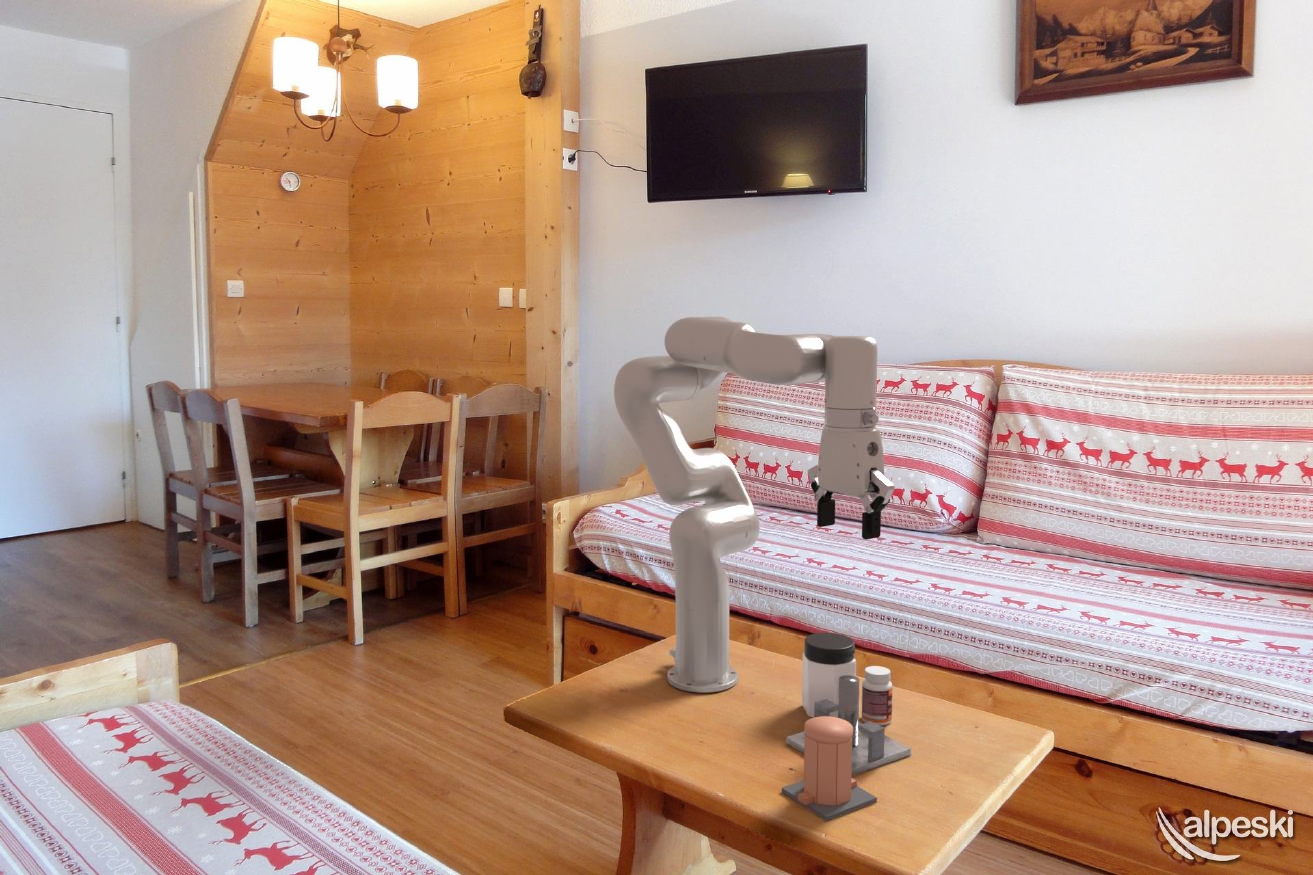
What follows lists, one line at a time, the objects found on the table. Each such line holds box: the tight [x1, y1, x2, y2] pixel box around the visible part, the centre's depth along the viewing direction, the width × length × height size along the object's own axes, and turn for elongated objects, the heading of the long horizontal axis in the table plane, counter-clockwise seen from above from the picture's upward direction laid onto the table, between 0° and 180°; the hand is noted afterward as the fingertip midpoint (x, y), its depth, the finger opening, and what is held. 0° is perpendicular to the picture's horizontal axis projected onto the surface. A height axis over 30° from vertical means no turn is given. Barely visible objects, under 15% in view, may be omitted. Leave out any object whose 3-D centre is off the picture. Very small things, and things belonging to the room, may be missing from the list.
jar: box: [801, 632, 857, 718], centre depth 154 cm, size 9×8×12 cm
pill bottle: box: [861, 665, 893, 727], centre depth 151 cm, size 5×5×8 cm
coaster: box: [781, 779, 878, 822], centre depth 127 cm, size 9×9×1 cm
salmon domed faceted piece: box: [798, 716, 858, 806], centre depth 127 cm, size 9×6×10 cm
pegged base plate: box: [786, 675, 912, 777], centre depth 141 cm, size 13×13×11 cm
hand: (847, 531), depth 142 cm, fingers open, 9 cm apart
